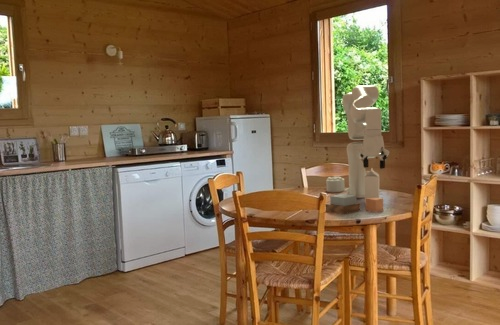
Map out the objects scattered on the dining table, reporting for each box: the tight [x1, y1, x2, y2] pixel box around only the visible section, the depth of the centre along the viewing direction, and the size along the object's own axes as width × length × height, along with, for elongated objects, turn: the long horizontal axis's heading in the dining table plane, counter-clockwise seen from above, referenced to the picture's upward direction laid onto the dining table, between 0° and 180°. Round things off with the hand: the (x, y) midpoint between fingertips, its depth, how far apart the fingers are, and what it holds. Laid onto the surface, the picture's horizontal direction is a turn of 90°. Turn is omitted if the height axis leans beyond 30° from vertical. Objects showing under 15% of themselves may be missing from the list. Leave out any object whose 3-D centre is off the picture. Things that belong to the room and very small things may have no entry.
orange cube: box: [365, 197, 384, 213], centre depth 239 cm, size 6×6×6 cm
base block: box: [325, 202, 361, 215], centre depth 240 cm, size 12×12×4 cm
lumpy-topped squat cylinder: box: [325, 176, 346, 193], centre depth 303 cm, size 10×13×9 cm
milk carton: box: [364, 167, 381, 206], centre depth 255 cm, size 7×7×19 cm
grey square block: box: [329, 193, 357, 206], centre depth 240 cm, size 9×9×4 cm
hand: (374, 167), depth 237 cm, fingers open, 9 cm apart
